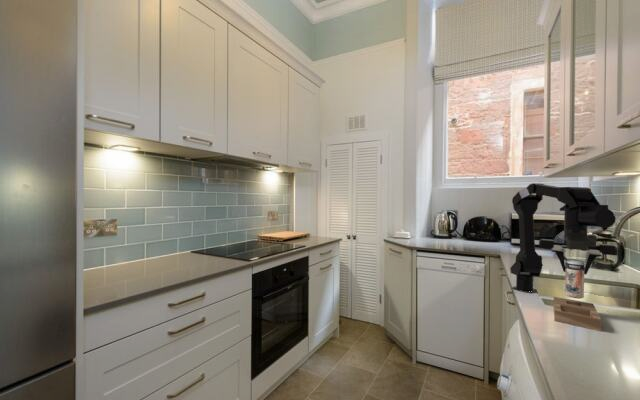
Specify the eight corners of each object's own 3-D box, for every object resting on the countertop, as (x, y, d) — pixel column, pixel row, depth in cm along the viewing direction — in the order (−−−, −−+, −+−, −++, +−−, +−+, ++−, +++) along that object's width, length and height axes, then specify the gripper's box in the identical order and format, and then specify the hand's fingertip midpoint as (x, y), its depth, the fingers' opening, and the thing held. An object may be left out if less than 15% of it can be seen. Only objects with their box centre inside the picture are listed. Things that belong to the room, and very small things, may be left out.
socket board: (553, 305, 99) (553, 296, 99) (592, 312, 93) (593, 303, 93) (554, 320, 85) (554, 310, 85) (601, 331, 79) (601, 320, 79)
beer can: (561, 295, 94) (562, 259, 94) (569, 293, 96) (569, 258, 96) (579, 299, 90) (580, 261, 90) (587, 298, 92) (587, 261, 92)
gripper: (539, 224, 92) (538, 272, 92) (621, 228, 81) (620, 283, 81) (539, 223, 101) (538, 266, 101) (614, 227, 90) (613, 276, 89)
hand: (574, 272), depth 93 cm, fingers closed on beer can, 5 cm apart
